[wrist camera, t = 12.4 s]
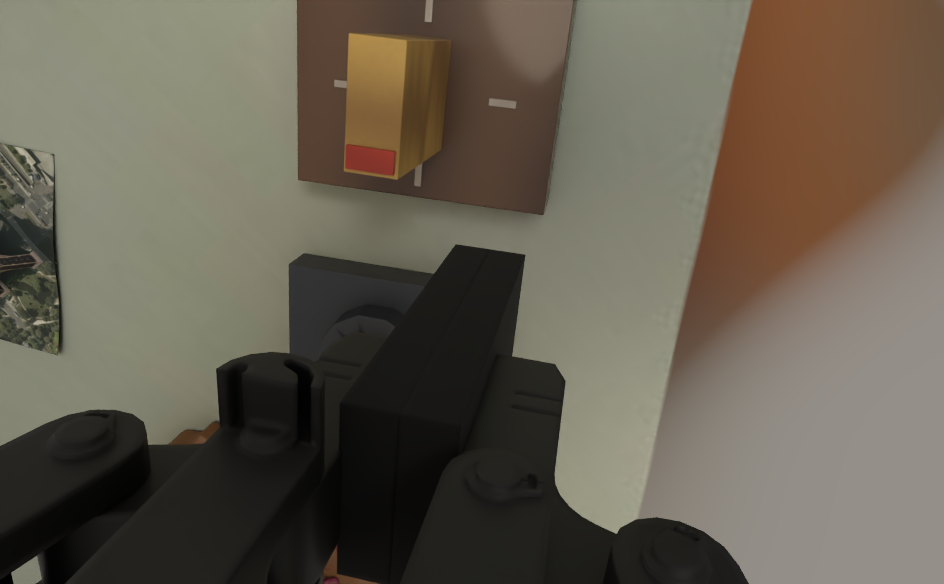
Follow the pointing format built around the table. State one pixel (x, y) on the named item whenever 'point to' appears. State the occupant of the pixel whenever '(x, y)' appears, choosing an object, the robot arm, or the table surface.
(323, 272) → the doorbell
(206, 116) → the table surface
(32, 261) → the eiffel tower figurine
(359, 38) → the tan rectangular block
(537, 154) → the plate
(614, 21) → the table surface
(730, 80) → the table surface
